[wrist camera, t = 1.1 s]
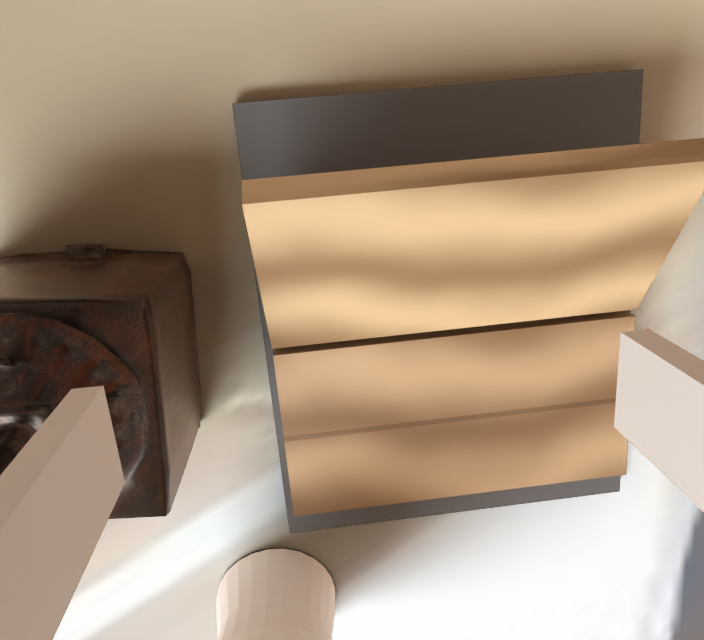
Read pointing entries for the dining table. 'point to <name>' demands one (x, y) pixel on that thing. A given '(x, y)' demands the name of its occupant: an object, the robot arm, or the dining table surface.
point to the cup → (276, 598)
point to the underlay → (431, 147)
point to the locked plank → (451, 411)
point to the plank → (466, 240)
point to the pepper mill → (104, 358)
